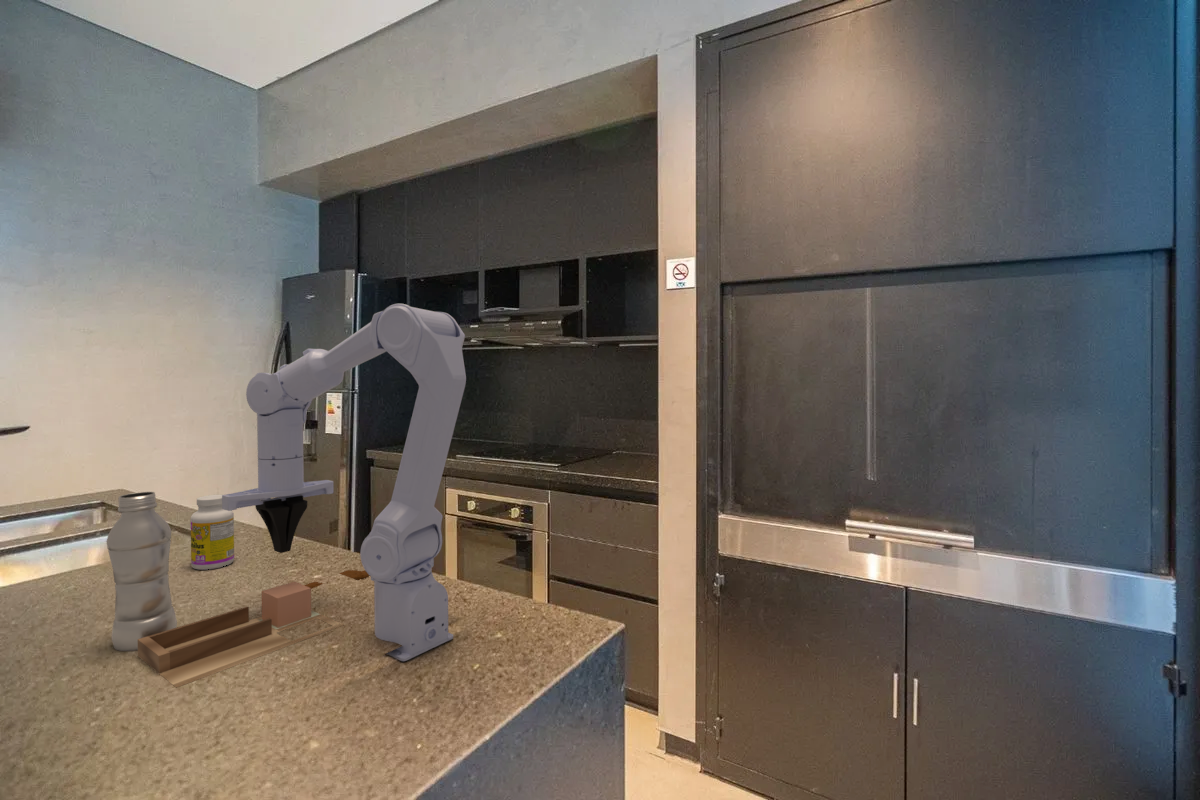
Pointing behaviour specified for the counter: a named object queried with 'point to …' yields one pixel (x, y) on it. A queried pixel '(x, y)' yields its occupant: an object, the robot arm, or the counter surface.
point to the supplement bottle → (211, 534)
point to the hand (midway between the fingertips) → (282, 550)
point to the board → (216, 644)
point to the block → (286, 603)
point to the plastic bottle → (140, 571)
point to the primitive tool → (349, 573)
